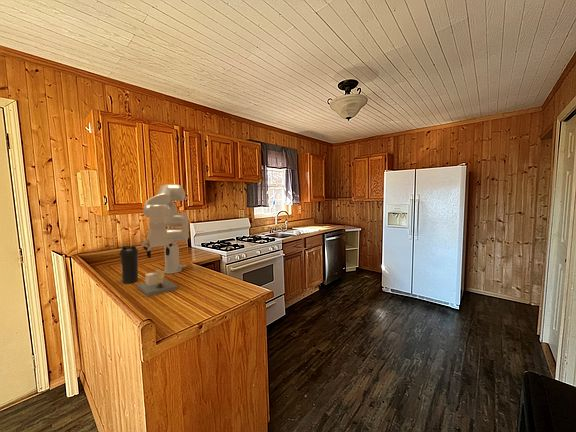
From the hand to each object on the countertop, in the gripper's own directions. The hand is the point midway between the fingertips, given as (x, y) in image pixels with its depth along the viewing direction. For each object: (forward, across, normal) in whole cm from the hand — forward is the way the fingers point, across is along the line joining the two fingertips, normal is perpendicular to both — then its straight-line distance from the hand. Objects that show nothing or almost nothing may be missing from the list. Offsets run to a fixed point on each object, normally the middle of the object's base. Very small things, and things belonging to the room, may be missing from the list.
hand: (158, 256), depth 146 cm
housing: (+20, 0, -6) cm, 21 cm away
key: (+18, 0, -3) cm, 18 cm away
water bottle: (+20, +8, -33) cm, 39 cm away
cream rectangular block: (+18, 0, -11) cm, 21 cm away
